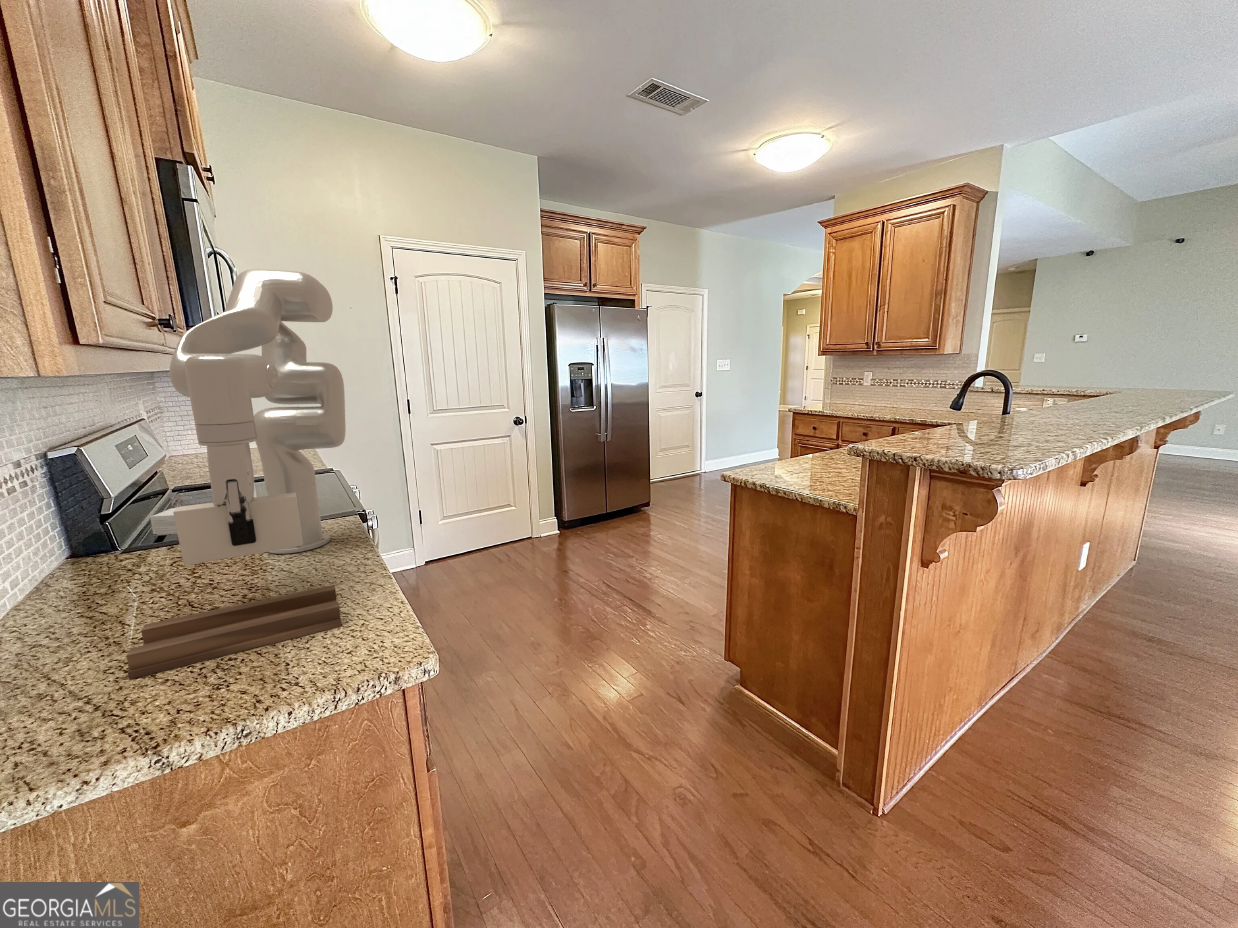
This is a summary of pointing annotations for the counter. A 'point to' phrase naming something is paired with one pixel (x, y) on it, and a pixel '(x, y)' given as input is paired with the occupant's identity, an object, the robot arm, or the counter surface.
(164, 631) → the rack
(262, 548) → the white rectangular slab
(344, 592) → the counter surface
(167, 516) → the small box
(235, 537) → the robot arm
